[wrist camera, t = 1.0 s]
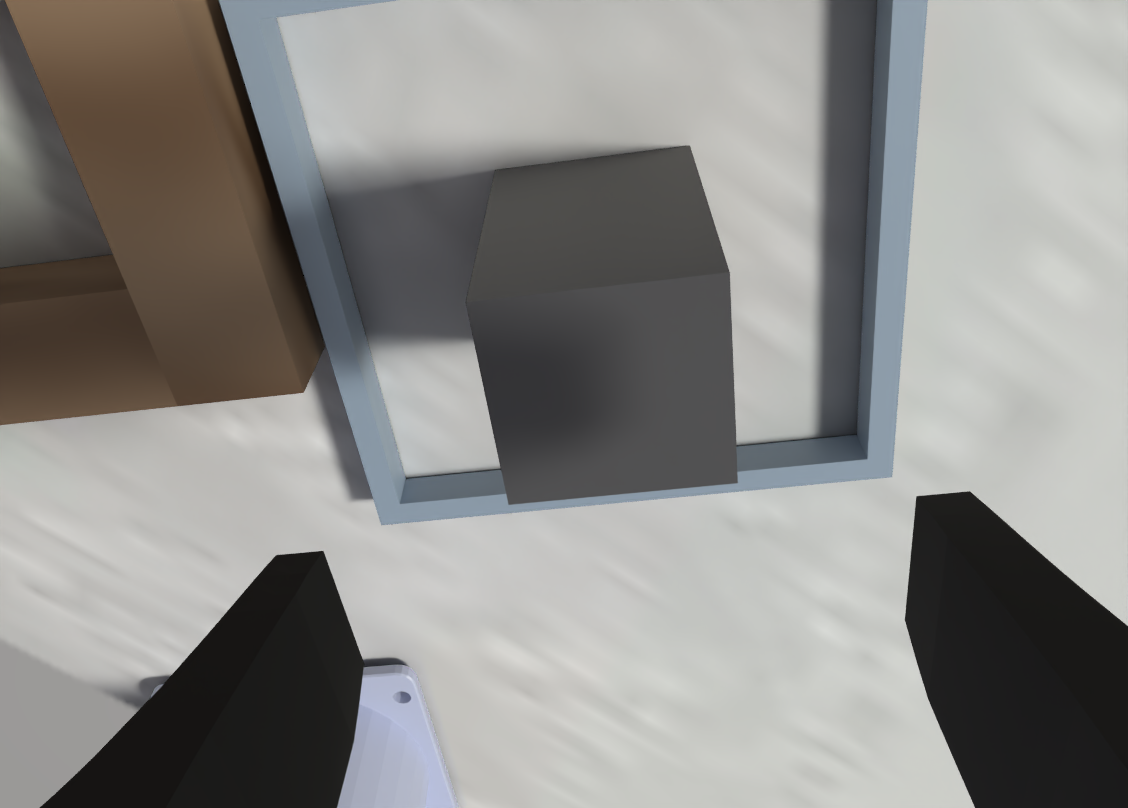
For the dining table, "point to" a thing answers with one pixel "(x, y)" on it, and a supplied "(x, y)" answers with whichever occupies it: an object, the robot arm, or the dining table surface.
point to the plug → (605, 328)
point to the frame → (400, 500)
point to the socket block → (154, 225)
